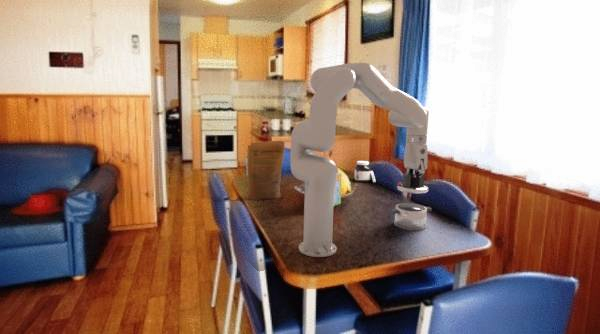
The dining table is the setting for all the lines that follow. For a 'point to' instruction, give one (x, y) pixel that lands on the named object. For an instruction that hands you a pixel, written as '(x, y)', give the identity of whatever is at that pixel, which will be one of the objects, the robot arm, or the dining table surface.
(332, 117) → the robot arm
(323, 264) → the dining table surface
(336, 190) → the snack box
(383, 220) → the dining table surface
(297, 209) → the dining table surface
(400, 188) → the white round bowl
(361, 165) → the spread jar
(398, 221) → the pot
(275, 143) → the pancake mix bag
